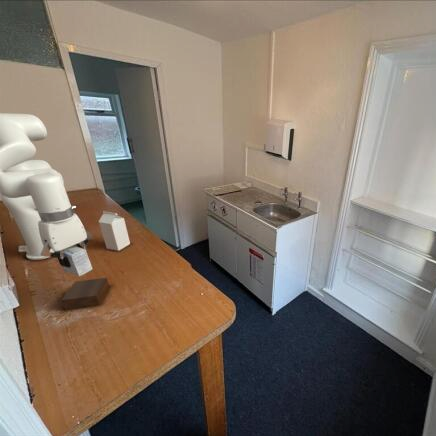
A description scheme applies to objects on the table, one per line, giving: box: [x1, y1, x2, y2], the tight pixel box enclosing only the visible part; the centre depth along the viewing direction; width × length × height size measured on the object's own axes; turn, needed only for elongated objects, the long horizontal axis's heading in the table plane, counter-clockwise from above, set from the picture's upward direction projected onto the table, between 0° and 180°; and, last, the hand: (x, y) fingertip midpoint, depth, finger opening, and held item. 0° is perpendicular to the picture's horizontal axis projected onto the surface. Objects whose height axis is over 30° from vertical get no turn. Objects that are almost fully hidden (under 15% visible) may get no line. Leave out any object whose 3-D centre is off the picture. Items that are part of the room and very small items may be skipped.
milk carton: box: [98, 210, 131, 252], centre depth 114 cm, size 7×7×19 cm
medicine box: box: [61, 245, 93, 277], centre depth 80 cm, size 8×4×9 cm, turn 71°
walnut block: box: [60, 277, 110, 311], centre depth 86 cm, size 10×10×4 cm
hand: (75, 261), depth 80 cm, fingers closed on medicine box, 4 cm apart
